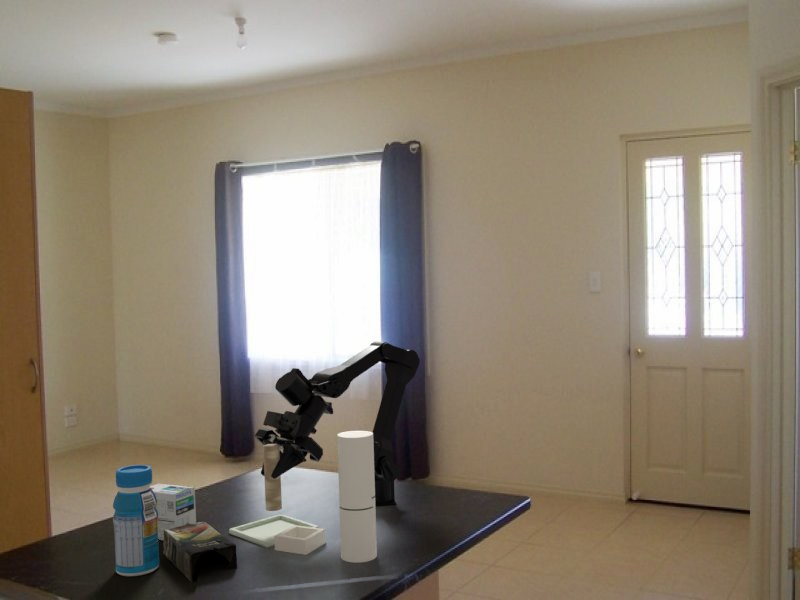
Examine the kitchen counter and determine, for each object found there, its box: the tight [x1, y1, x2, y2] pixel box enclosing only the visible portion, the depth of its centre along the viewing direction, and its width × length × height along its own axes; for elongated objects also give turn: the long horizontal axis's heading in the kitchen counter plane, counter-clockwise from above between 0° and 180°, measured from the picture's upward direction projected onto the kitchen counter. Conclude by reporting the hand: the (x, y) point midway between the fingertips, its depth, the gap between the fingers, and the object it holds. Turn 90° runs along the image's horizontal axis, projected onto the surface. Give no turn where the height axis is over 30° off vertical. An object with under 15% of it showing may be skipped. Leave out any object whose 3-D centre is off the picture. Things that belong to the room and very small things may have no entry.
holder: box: [274, 525, 327, 556], centre depth 164 cm, size 8×8×4 cm
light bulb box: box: [149, 483, 197, 541], centre depth 175 cm, size 11×7×11 cm, turn 65°
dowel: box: [262, 444, 283, 512], centre depth 173 cm, size 4×4×14 cm
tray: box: [228, 513, 320, 548], centre depth 173 cm, size 14×14×2 cm
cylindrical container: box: [336, 430, 378, 563], centre depth 156 cm, size 7×7×25 cm
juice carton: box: [162, 521, 238, 583], centre depth 158 cm, size 20×10×6 cm, turn 32°
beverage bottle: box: [112, 464, 160, 577], centre depth 154 cm, size 8×8×20 cm
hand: (267, 476), depth 172 cm, fingers closed on dowel, 3 cm apart
